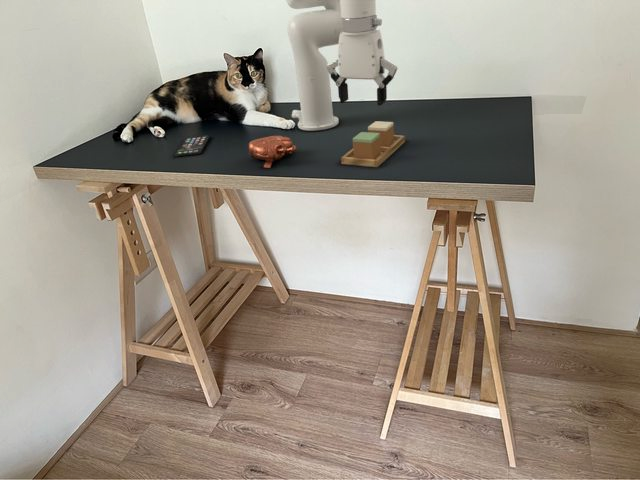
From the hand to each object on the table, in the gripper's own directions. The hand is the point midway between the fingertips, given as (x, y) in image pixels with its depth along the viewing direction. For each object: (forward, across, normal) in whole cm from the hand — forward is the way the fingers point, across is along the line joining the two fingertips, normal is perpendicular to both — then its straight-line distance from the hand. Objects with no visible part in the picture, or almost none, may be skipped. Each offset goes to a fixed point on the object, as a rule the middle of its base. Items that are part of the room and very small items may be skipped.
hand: (362, 102), depth 117 cm
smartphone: (+15, +53, +5) cm, 55 cm away
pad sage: (+13, -1, +2) cm, 13 cm away
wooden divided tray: (+14, -1, -3) cm, 14 cm away
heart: (+14, +22, +8) cm, 27 cm away
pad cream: (+13, -1, -7) cm, 15 cm away
